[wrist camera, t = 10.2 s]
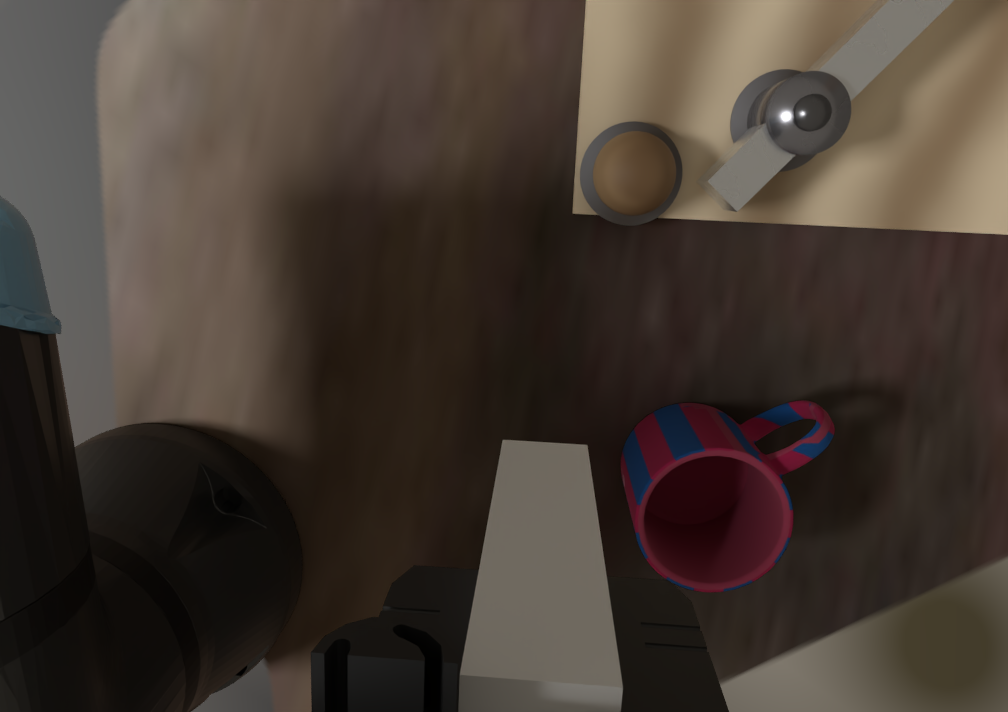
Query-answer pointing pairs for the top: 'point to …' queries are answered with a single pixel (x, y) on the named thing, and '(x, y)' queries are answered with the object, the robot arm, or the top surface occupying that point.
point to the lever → (815, 100)
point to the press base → (767, 61)
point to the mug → (715, 491)
